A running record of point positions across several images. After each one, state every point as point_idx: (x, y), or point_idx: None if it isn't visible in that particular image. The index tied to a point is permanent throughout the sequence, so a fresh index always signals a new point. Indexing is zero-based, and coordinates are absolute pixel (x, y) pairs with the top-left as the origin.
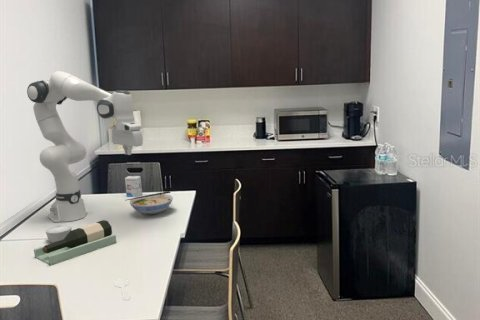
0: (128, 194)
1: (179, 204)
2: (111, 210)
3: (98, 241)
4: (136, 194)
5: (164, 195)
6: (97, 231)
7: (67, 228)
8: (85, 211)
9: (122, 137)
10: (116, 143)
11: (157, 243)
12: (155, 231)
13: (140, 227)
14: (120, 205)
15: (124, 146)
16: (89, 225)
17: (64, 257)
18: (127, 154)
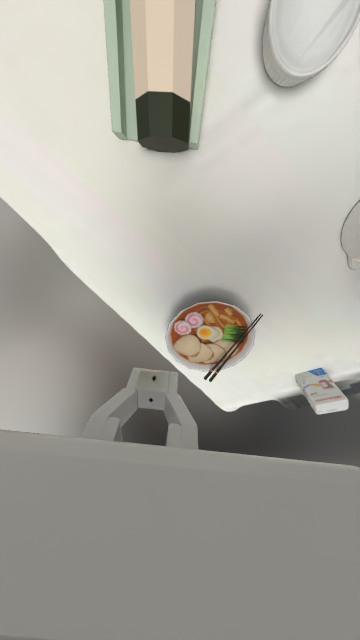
0: (319, 372)
1: None
2: (301, 303)
3: (106, 44)
4: (302, 376)
5: (209, 368)
6: (133, 63)
7: (282, 34)
8: (354, 258)
9: (130, 626)
10: (298, 470)
11: (45, 196)
12: (114, 251)
13: (160, 254)
14: (301, 331)
15: (168, 434)
16: (164, 40)
17: None
18: (146, 369)
